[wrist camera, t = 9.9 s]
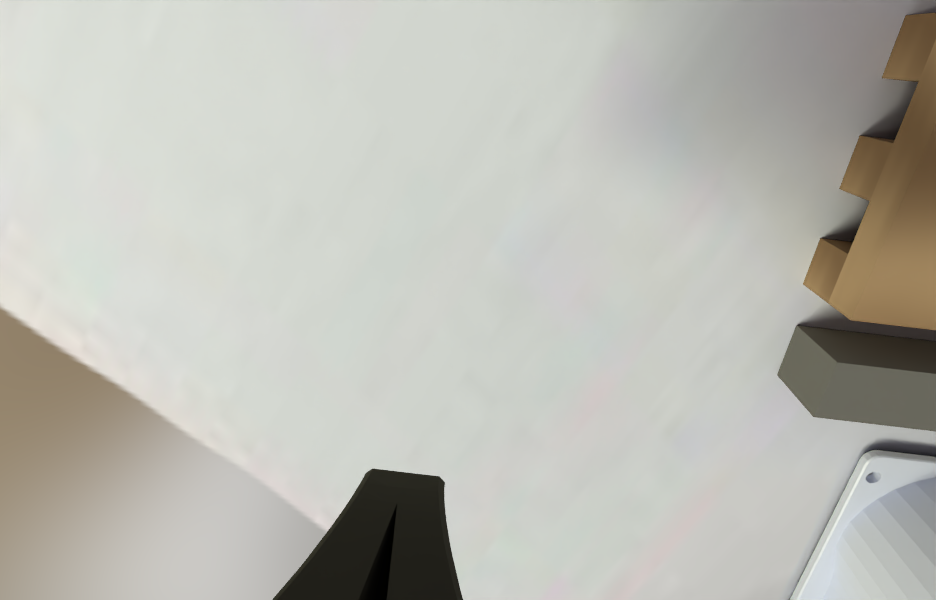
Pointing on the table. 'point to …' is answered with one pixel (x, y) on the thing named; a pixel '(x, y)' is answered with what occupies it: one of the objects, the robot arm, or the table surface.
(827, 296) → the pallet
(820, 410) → the dock
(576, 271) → the table surface
